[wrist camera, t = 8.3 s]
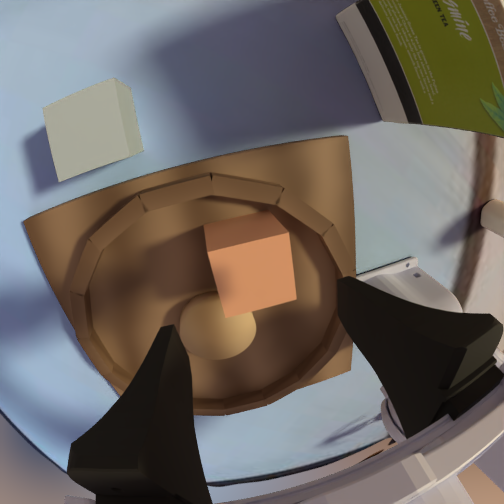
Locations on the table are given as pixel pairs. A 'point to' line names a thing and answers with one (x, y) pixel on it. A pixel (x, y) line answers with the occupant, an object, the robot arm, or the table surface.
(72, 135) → the grey cube
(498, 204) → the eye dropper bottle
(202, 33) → the table surface
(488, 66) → the tea box
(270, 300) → the orange cube
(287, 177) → the groove tray
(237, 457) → the table surface
